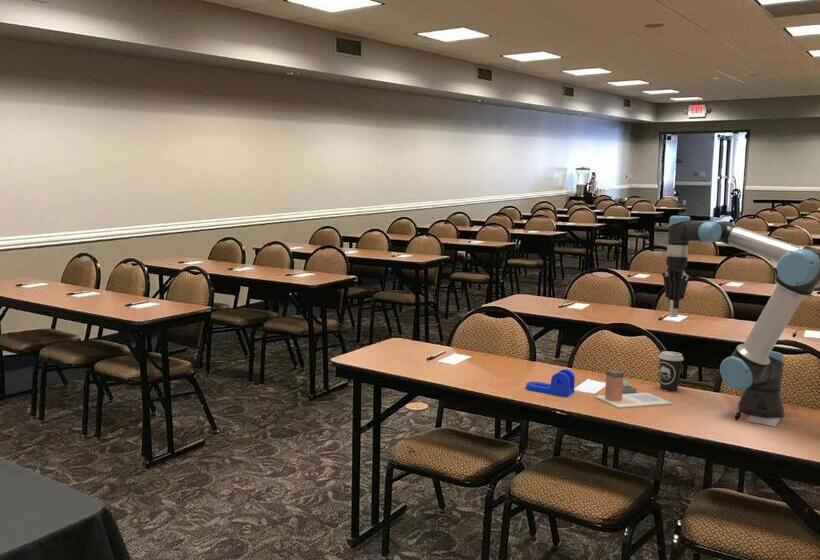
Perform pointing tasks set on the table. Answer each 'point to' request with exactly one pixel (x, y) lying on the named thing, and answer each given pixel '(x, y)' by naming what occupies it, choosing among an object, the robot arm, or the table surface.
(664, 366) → the coffee cup
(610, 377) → the lidded container
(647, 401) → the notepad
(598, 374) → the table surface
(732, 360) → the robot arm
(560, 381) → the bracket
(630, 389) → the button housing
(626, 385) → the button
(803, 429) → the table surface
